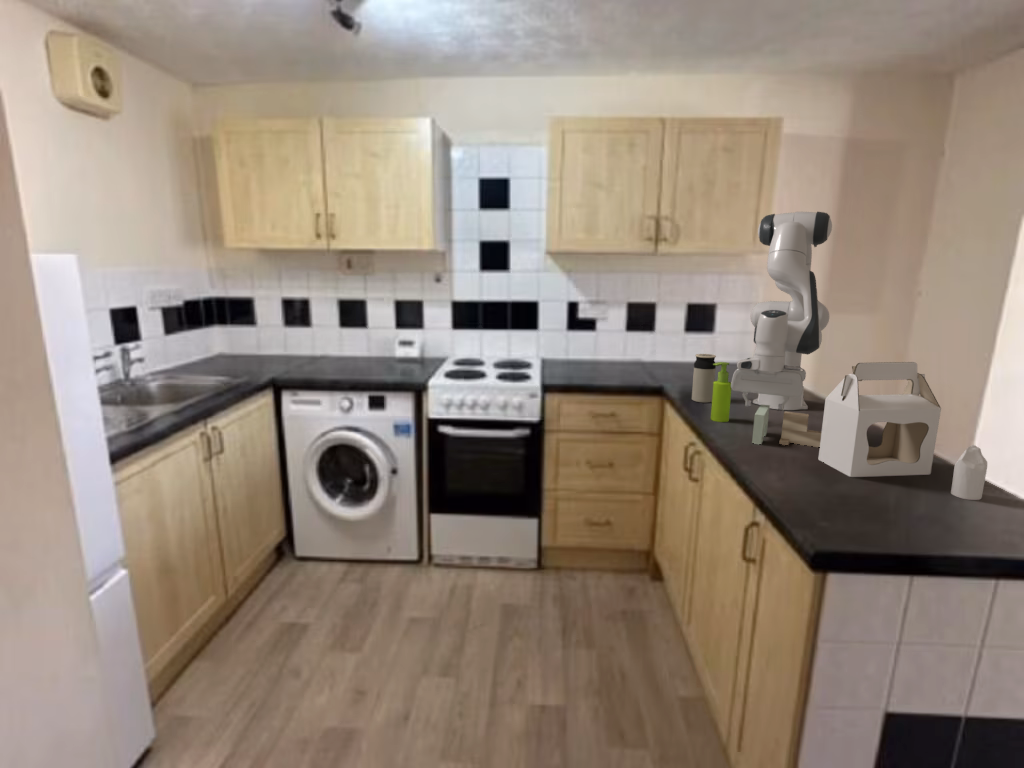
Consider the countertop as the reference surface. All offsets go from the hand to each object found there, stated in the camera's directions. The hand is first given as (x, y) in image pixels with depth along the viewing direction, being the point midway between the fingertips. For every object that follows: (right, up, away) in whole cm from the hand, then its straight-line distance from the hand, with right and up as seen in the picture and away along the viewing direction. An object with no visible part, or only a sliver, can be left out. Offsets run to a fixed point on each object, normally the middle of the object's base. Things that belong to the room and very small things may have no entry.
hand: (764, 408), depth 175 cm
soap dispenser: (-7, -5, +18) cm, 20 cm away
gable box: (+17, -15, -26) cm, 34 cm away
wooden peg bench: (+11, -11, -9) cm, 18 cm away
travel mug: (-4, +1, +46) cm, 46 cm away
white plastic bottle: (+27, -19, -44) cm, 55 cm away
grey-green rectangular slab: (-2, -9, -2) cm, 10 cm away
